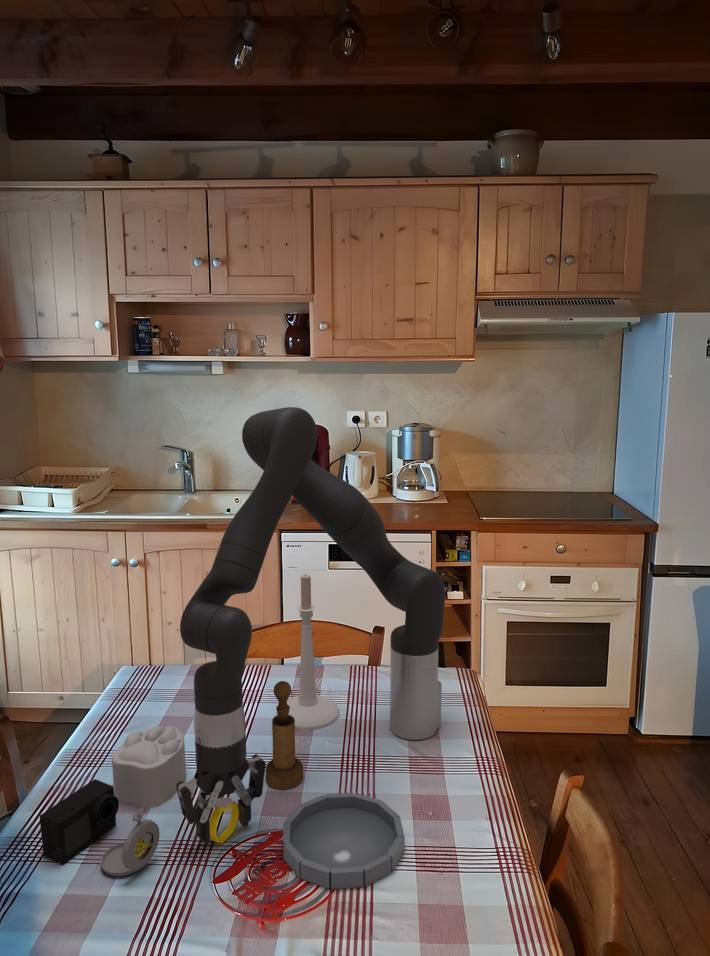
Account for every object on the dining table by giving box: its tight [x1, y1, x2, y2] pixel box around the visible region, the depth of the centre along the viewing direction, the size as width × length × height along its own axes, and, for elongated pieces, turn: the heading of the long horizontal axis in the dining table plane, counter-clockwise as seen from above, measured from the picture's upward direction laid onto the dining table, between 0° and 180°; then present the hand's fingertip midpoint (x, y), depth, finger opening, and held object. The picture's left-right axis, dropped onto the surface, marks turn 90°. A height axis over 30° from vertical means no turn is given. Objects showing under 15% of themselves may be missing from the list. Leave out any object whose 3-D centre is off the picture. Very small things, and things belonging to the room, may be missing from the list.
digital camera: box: [39, 778, 120, 866], centre depth 110 cm, size 10×5×7 cm, turn 151°
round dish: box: [282, 792, 405, 890], centre depth 109 cm, size 18×18×2 cm
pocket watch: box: [100, 807, 161, 877], centre depth 105 cm, size 8×8×10 cm
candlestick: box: [276, 573, 340, 731], centre depth 146 cm, size 13×13×30 cm
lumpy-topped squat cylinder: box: [111, 725, 187, 809], centre depth 125 cm, size 10×13×9 cm
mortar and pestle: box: [265, 680, 304, 790], centre depth 125 cm, size 7×6×18 cm
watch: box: [208, 796, 239, 844], centre depth 111 cm, size 6×3×6 cm, turn 152°
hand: (224, 831), depth 111 cm, fingers closed on watch, 6 cm apart
